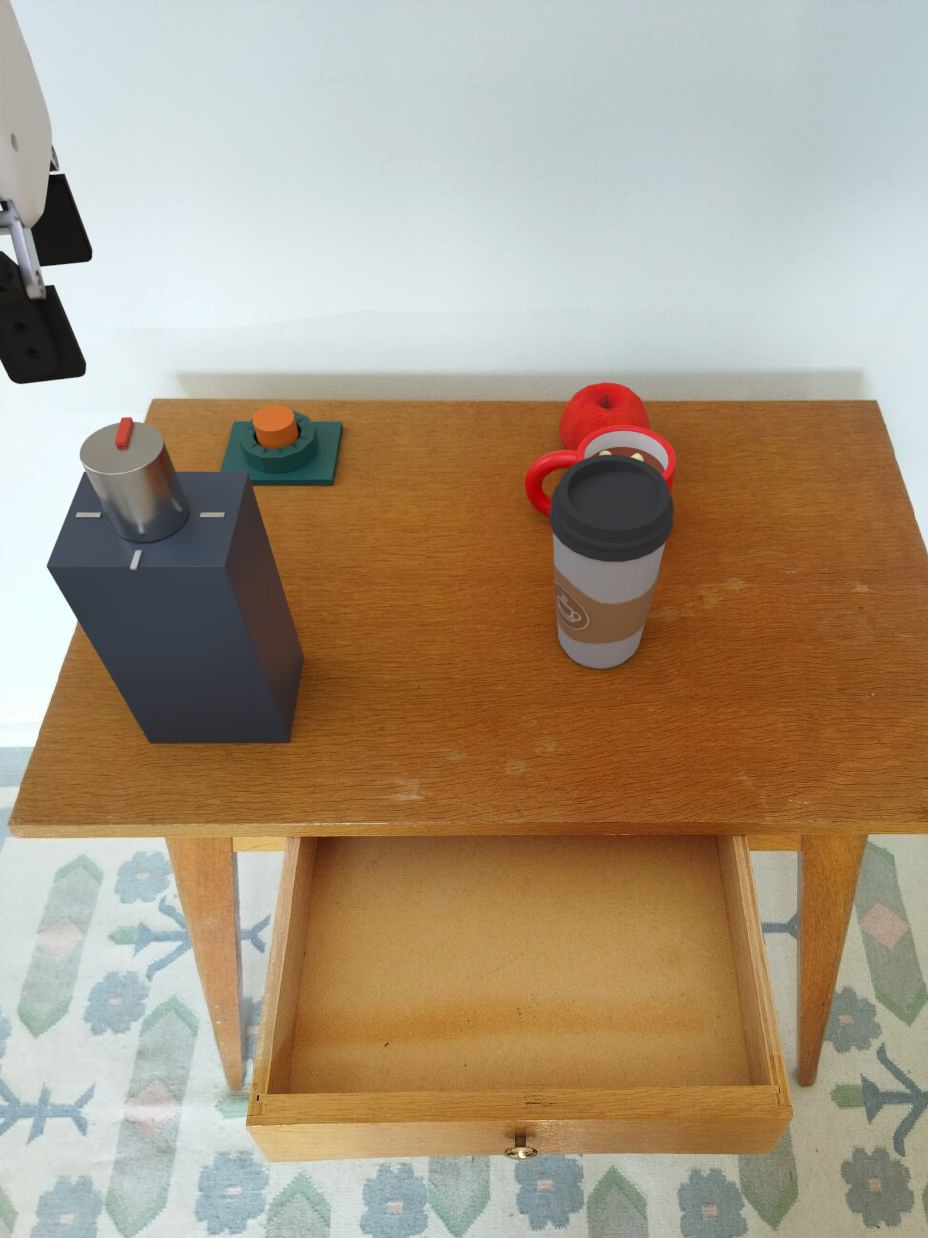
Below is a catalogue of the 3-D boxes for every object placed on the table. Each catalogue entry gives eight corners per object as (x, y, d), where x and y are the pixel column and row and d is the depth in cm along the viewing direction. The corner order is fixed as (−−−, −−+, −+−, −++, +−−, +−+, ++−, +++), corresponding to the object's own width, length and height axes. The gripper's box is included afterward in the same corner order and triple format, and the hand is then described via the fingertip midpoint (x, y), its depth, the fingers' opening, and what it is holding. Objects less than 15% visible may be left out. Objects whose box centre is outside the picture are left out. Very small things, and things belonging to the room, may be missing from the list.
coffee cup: (523, 630, 74) (523, 481, 62) (606, 584, 77) (621, 433, 65) (590, 699, 70) (604, 555, 58) (674, 648, 73) (704, 500, 61)
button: (254, 450, 83) (249, 431, 81) (261, 424, 85) (255, 404, 84) (295, 450, 83) (291, 431, 81) (301, 424, 85) (296, 404, 84)
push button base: (219, 485, 83) (212, 463, 81) (235, 427, 88) (228, 404, 86) (333, 485, 84) (328, 463, 82) (343, 427, 88) (338, 404, 86)
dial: (183, 541, 54) (154, 467, 50) (105, 544, 54) (68, 471, 50) (194, 489, 57) (167, 415, 52) (119, 491, 56) (85, 418, 52)
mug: (528, 491, 83) (529, 417, 77) (665, 501, 83) (677, 427, 76) (519, 555, 79) (519, 482, 72) (663, 566, 78) (676, 493, 72)
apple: (593, 423, 89) (598, 353, 83) (663, 458, 86) (673, 388, 80) (540, 466, 85) (541, 396, 79) (611, 504, 82) (618, 435, 76)
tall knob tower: (148, 747, 68) (42, 568, 53) (173, 653, 72) (83, 465, 58) (289, 746, 68) (223, 568, 53) (304, 652, 73) (248, 465, 58)
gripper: (-218, -227, 35) (-11, 232, 49) (-355, -78, 25) (-49, 442, 39) (-4, -232, 36) (139, 217, 50) (-57, -92, 27) (138, 418, 40)
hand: (56, 316), depth 45 cm, fingers open, 9 cm apart
